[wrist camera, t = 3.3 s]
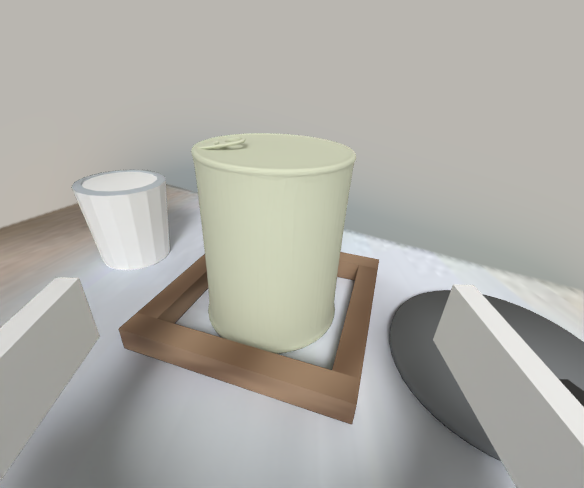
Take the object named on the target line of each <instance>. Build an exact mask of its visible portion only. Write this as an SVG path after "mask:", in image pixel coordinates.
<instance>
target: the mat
mask: <svg viewBox="0 0 584 488" xmlns="http://www.w3.org/2000/svg"><path fill="white" fill-rule="evenodd" d="M450 292H451V290H443V291H432V292H427V293H423V294H419V295H417V296H415V297H412V298H411V299H409V300H407V301H406V302H405V303H404V304H402V305H401V306H400V307H399V309H398V310H397V312H396V313H395V316H394V318H393V321H392V325H391V329H390V348H391V352H392V356H393V359H394V362H395V364H396V367H397V369H398V370H399V372H400V374H401V376H402V378H403V380H404V381H405V382H406V384H407V385H408V387H409V388H410V390H411V391H412V392H413V394H414V395H415V396H416V397H417V398H418V400H419V401H420V402H421V403H422V404H423V405H424V406H425V407H426V408H427V409H428V410H429V411H430V412H431V413H432V414H433V415H434V416H435V417H436V418H437V419H438V420H439V421H440V422H442V423H443V424H444V425H445V426H446V427H448V428H449V429H450V430H451V431H452V432H454V433H455V434H457V435H458V436H459V437H461V438H462V439H464V440H465V441H466V442H468V443H469V444H471V445H473V446H474V447H476V448H478V449H479V450H481V451H483V452H484V453H486V454H488V455H489V456H491V457H494V458H496V459H498V460H500V461H501V459H500V458H499V456H498V454H497V452H496V450H495V449H494V447H493V445H492V443H491V442H490V440H489V438H488V436H487V435H486V433H485V431H484V429H483V427H482V426H481V424H480V422H479V420H478V419H477V417H476V415H475V413H474V412H473V410H472V408H471V406H470V404H469V403H468V401H467V399H466V397H465V396H464V394H463V392H462V390H461V389H460V387H459V385H458V383H457V381H456V380H455V378H454V376H453V374H452V373H451V371H450V369H449V367H448V365H447V364H446V362H445V360H444V358H443V357H442V355H441V353H440V351H439V350H438V348H437V346H436V344H435V342H434V341H433V338H434V336H435V333H436V330H437V327H438V325H439V322H440V319H441V316H442V314H443V311H444V308H445V305H446V303H447V300H448V297H449V294H450ZM482 295H483V294H482ZM483 296H484V297H485V298H486V299H487V300H488V301H489V303H490V304H491V305H492V306H493V307H494V308H495V309H496V310H497V311H498V313H499V314H500V315H501V316H502V317H503V318H504V319H505V320H506V321H507V323H508V324H509V325H510V326H511V327H512V328H513V329H514V330H515V331H516V333H517V334H518V335H519V336H520V337H521V338H522V339H523V340H524V341H525V343H526V344H527V345H528V346H529V347H530V348H531V349H532V350H533V351H534V352H535V354H536V355H537V356H538V357H539V358H540V359H541V360H542V361H543V362H544V364H545V365H546V366H547V367H548V368H549V369H550V370H551V371H552V372H553V374H554V375H555V376H556V377H557V378H558V379H568V380H569V381H571V382H572V383H574V384H575V385H576V386H578V387H579V388H580V389H582V390H583V391H584V342H583V341H581V340H580V339H578V338H577V337H576V336H574V335H573V334H571V333H570V332H568V331H567V330H565V329H563V328H562V327H560V326H559V325H557V324H555V323H553V322H552V321H550V320H548V319H546V318H544V317H542V316H540V315H538V314H536V313H534V312H532V311H530V310H527V309H525V308H523V307H520V306H518V305H515V304H513V303H510V302H507V301H504V300H501V299H498V298H494V297H491V296H487V295H483Z"/></svg>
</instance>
